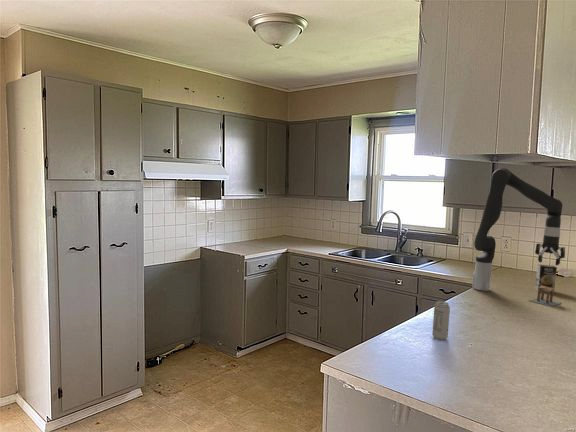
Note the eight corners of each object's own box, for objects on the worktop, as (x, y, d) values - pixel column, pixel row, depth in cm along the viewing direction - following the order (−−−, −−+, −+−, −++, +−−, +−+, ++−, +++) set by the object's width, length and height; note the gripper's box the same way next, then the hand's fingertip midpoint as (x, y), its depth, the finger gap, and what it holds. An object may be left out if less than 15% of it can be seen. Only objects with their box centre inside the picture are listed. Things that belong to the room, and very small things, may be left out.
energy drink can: (450, 340, 173) (453, 305, 171) (437, 341, 171) (439, 305, 170) (442, 335, 178) (444, 300, 177) (429, 335, 177) (431, 301, 176)
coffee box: (538, 291, 260) (540, 265, 259) (534, 288, 266) (537, 263, 265) (554, 293, 258) (557, 267, 257) (550, 290, 264) (553, 265, 263)
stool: (536, 300, 237) (537, 287, 236) (541, 299, 241) (542, 285, 240) (548, 303, 232) (549, 289, 231) (552, 302, 236) (554, 288, 235)
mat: (528, 301, 238) (528, 300, 238) (538, 298, 245) (538, 297, 245) (551, 306, 228) (551, 306, 228) (561, 303, 235) (561, 303, 235)
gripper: (535, 233, 236) (532, 261, 238) (563, 237, 225) (559, 267, 227) (541, 232, 241) (538, 260, 242) (568, 236, 229) (565, 265, 231)
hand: (548, 263), depth 234 cm, fingers open, 8 cm apart
